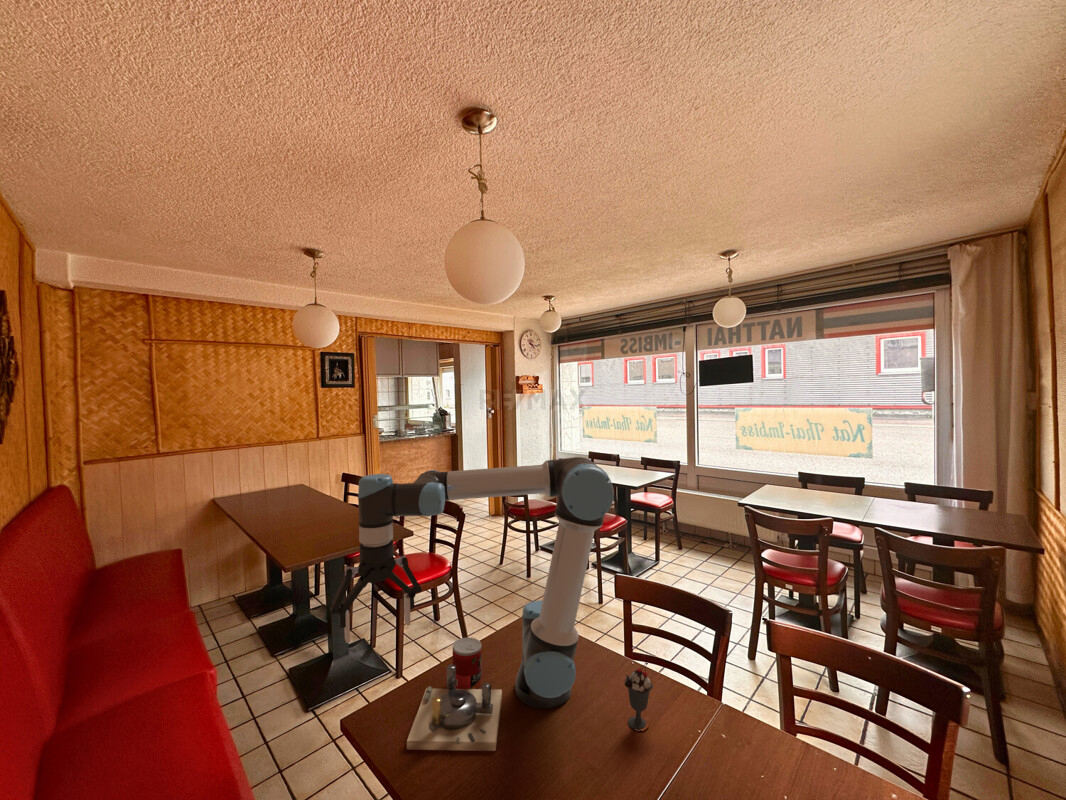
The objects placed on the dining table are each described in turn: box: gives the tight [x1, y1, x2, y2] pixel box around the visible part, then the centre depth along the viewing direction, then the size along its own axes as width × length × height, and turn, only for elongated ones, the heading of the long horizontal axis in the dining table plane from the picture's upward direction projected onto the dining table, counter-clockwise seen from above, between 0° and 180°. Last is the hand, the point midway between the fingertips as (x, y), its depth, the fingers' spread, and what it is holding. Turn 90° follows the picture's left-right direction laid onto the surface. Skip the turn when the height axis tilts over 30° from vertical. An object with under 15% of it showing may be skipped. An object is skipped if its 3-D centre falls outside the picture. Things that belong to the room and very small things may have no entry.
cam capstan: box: [429, 663, 493, 732], centre depth 106 cm, size 13×16×7 cm
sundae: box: [624, 662, 654, 731], centre depth 107 cm, size 7×7×15 cm
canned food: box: [452, 637, 483, 689], centre depth 121 cm, size 8×8×11 cm
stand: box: [406, 686, 503, 752], centre depth 108 cm, size 20×18×4 cm
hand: (378, 631), depth 104 cm, fingers open, 13 cm apart
